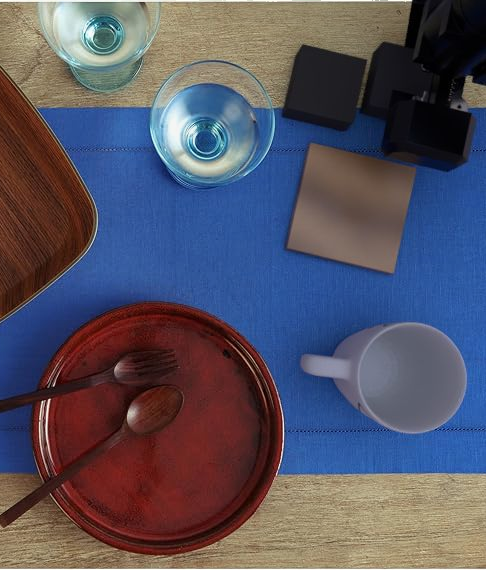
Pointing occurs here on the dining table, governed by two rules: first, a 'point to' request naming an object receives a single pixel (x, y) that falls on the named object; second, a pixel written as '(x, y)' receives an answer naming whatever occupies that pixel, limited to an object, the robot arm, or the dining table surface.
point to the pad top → (324, 88)
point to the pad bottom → (392, 78)
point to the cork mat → (350, 208)
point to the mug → (397, 375)
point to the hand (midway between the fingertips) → (401, 86)
